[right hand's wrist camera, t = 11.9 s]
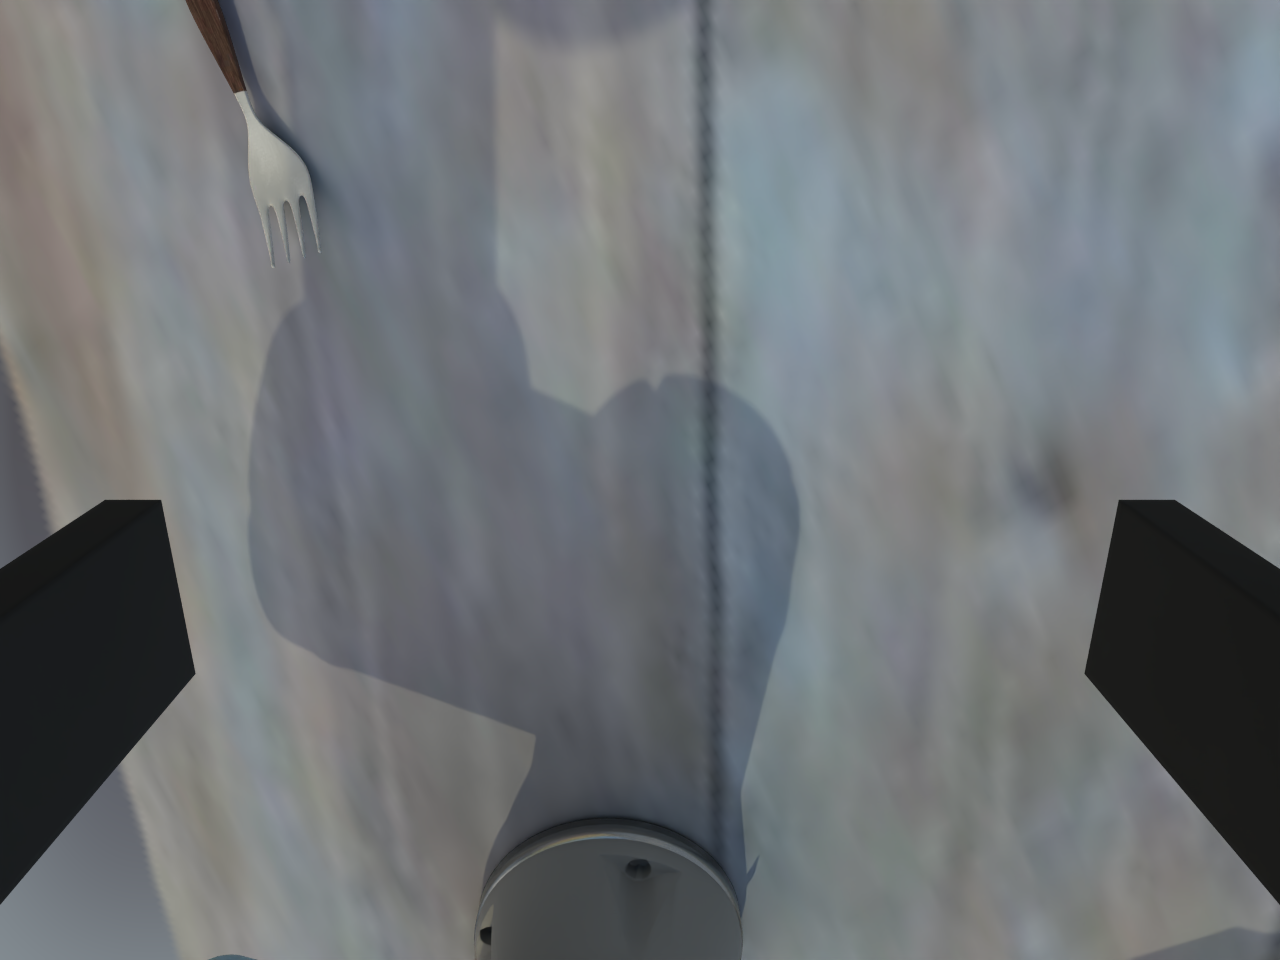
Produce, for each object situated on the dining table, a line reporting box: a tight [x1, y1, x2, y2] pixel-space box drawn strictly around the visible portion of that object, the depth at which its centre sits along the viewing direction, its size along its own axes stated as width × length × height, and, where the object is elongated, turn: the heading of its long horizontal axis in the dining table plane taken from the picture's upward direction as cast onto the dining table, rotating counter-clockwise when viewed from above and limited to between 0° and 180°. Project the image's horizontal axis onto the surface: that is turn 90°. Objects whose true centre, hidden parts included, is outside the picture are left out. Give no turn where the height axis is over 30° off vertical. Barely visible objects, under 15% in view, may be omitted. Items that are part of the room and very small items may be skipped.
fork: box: [186, 0, 322, 268], centre depth 36 cm, size 3×16×2 cm, turn 17°
